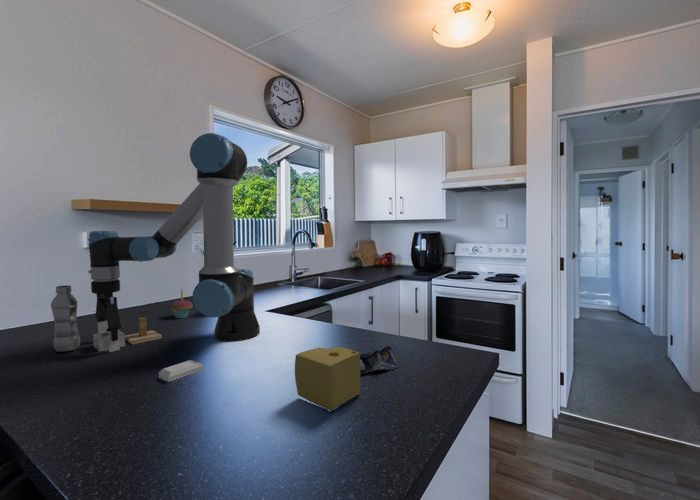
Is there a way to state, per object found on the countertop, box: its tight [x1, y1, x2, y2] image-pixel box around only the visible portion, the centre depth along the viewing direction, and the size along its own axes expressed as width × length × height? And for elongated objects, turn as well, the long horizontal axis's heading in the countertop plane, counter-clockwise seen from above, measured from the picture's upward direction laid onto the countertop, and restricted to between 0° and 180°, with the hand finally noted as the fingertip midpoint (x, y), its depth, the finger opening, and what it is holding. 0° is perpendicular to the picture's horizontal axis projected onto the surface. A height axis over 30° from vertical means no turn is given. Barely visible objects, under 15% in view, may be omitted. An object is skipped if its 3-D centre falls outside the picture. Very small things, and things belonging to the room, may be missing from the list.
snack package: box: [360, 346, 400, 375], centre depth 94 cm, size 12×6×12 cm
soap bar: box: [158, 359, 204, 383], centre depth 92 cm, size 5×9×3 cm, turn 144°
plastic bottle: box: [50, 284, 81, 353], centre depth 110 cm, size 6×7×20 cm
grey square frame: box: [92, 329, 126, 352], centre depth 114 cm, size 7×7×4 cm
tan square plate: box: [125, 316, 163, 345], centre depth 122 cm, size 9×9×7 cm
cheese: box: [294, 346, 361, 410], centre depth 78 cm, size 10×11×10 cm
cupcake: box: [170, 289, 194, 319], centre depth 151 cm, size 9×8×12 cm
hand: (108, 345), depth 114 cm, fingers open, 13 cm apart
